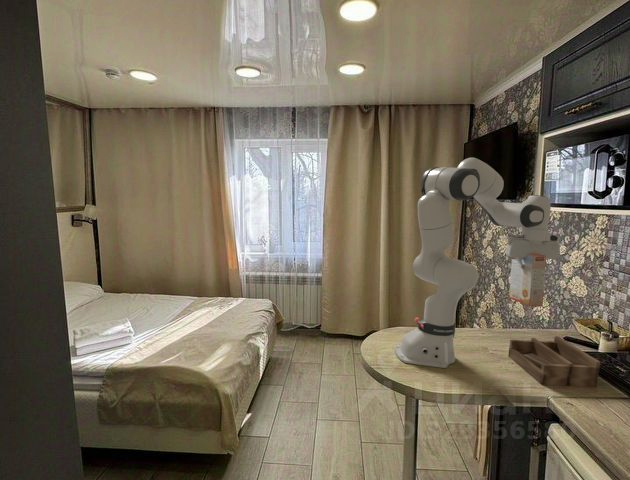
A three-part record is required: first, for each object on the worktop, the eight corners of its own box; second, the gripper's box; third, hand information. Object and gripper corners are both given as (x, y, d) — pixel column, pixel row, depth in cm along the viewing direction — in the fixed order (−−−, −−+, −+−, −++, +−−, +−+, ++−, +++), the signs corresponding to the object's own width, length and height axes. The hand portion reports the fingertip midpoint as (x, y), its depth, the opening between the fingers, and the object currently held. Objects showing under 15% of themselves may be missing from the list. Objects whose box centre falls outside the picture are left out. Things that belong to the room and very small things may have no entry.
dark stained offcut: (542, 370, 118) (543, 365, 118) (522, 359, 126) (522, 354, 126) (551, 368, 120) (552, 363, 119) (531, 358, 127) (531, 353, 127)
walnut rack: (541, 388, 113) (545, 359, 112) (507, 359, 133) (510, 334, 131) (595, 390, 113) (600, 361, 112) (554, 361, 133) (557, 336, 131)
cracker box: (543, 307, 138) (547, 255, 136) (528, 306, 138) (532, 255, 136) (522, 298, 152) (525, 251, 150) (508, 298, 152) (511, 251, 150)
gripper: (513, 235, 137) (509, 269, 139) (564, 237, 137) (559, 271, 139) (504, 233, 143) (500, 265, 145) (553, 235, 143) (549, 268, 145)
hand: (529, 268), depth 142 cm, fingers closed on cracker box, 6 cm apart
